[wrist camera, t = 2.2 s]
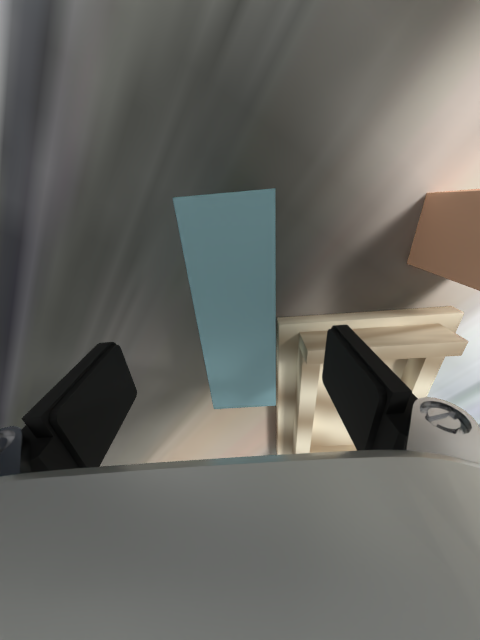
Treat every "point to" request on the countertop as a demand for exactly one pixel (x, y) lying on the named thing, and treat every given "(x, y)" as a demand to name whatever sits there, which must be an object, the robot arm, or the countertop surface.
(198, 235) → the light blue block
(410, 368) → the jig
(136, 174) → the countertop surface
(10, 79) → the countertop surface
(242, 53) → the countertop surface
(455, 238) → the peach brick
